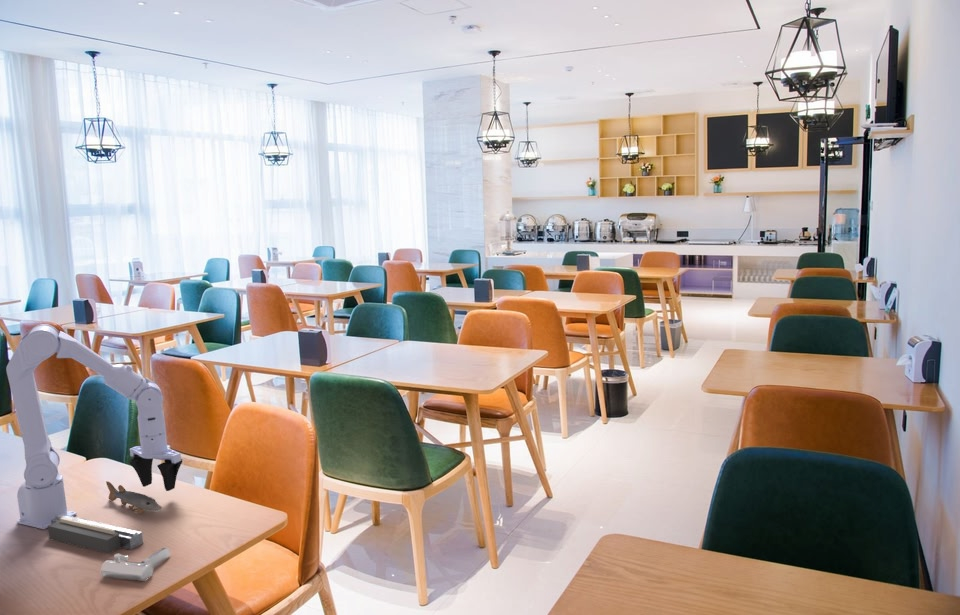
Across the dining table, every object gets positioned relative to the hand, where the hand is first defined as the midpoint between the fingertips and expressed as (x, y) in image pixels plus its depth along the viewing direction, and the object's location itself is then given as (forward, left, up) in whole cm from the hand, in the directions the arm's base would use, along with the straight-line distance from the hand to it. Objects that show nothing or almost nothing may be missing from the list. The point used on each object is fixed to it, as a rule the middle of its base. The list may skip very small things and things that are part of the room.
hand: (158, 487), depth 168 cm
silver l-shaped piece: (+24, -26, -3) cm, 35 cm away
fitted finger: (+4, -23, -2) cm, 23 cm away
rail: (+4, -20, -2) cm, 21 cm away
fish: (0, -7, -3) cm, 8 cm away
